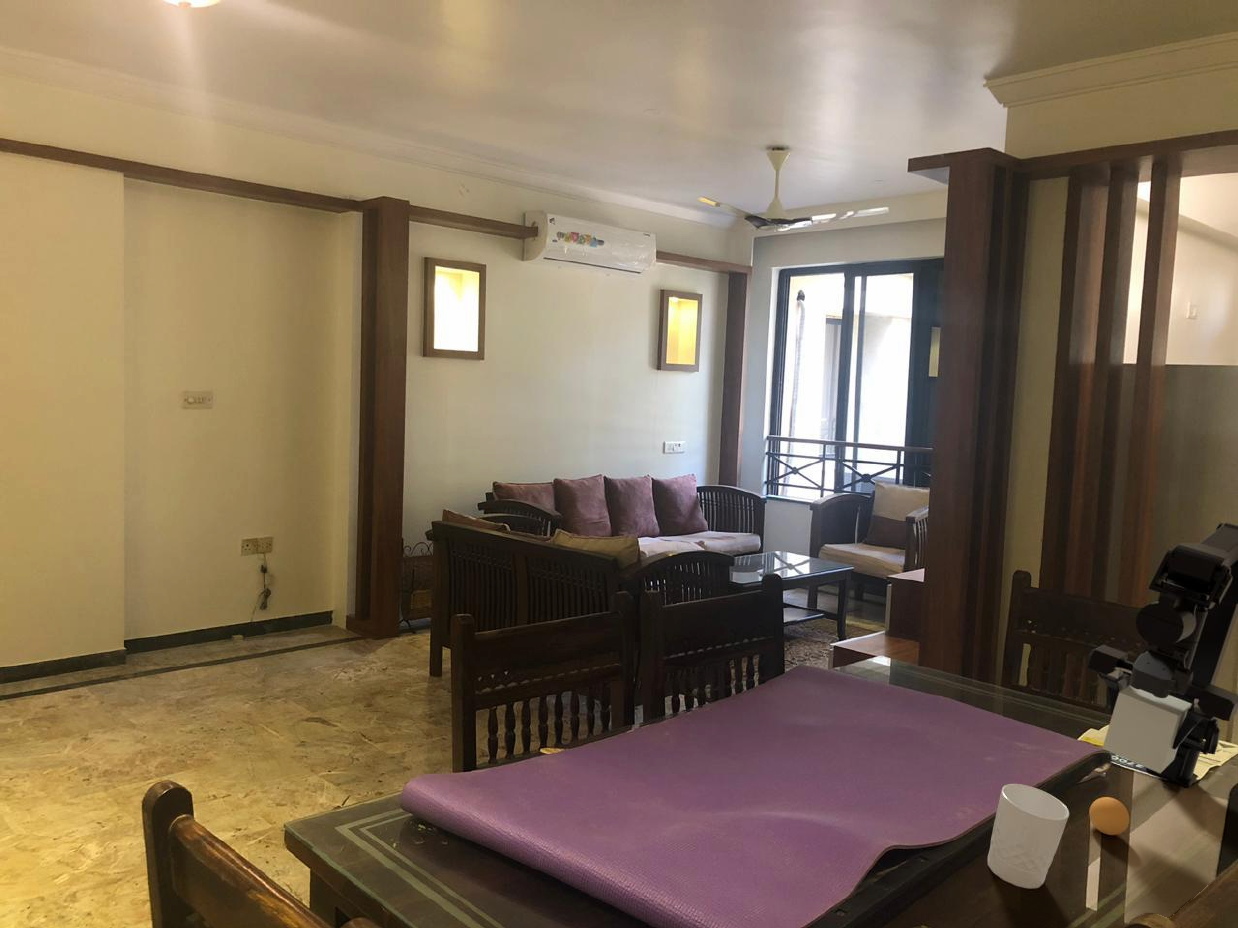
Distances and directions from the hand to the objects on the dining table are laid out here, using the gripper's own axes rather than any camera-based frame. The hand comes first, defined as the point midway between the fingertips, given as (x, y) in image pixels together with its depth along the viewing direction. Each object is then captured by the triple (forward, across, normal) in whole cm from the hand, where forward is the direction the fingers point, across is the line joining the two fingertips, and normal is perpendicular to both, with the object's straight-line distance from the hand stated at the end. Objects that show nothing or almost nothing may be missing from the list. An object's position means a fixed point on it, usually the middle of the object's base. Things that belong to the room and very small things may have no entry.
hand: (1143, 735), depth 136 cm
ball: (+11, 0, -7) cm, 13 cm away
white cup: (+14, -4, -30) cm, 33 cm away
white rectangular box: (+3, 0, 0) cm, 3 cm away
